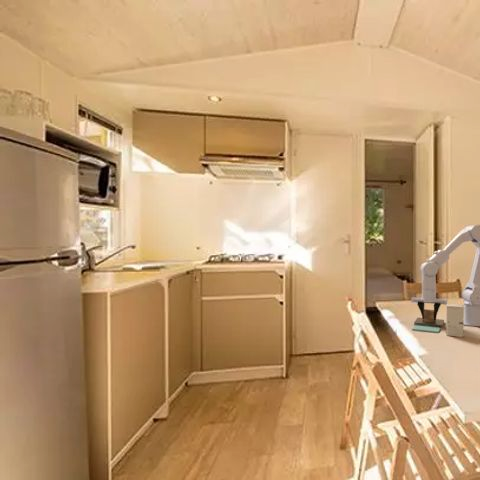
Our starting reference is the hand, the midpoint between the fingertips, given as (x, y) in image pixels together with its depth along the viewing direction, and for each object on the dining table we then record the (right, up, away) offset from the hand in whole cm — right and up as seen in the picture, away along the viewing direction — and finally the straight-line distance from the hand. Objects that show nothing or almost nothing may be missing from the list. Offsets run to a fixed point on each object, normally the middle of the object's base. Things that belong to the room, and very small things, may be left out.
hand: (429, 319), depth 173 cm
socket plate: (0, -2, 0) cm, 2 cm away
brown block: (0, -2, 0) cm, 2 cm away
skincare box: (+1, -3, -19) cm, 20 cm away
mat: (-6, -2, -10) cm, 12 cm away
